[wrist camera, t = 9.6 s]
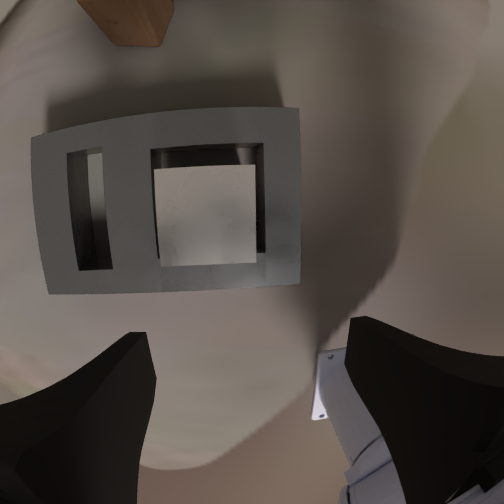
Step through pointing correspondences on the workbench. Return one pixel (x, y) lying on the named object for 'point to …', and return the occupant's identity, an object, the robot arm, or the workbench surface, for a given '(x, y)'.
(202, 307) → the workbench surface
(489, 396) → the robot arm
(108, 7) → the wooden stand
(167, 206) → the block
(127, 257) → the socket plate
